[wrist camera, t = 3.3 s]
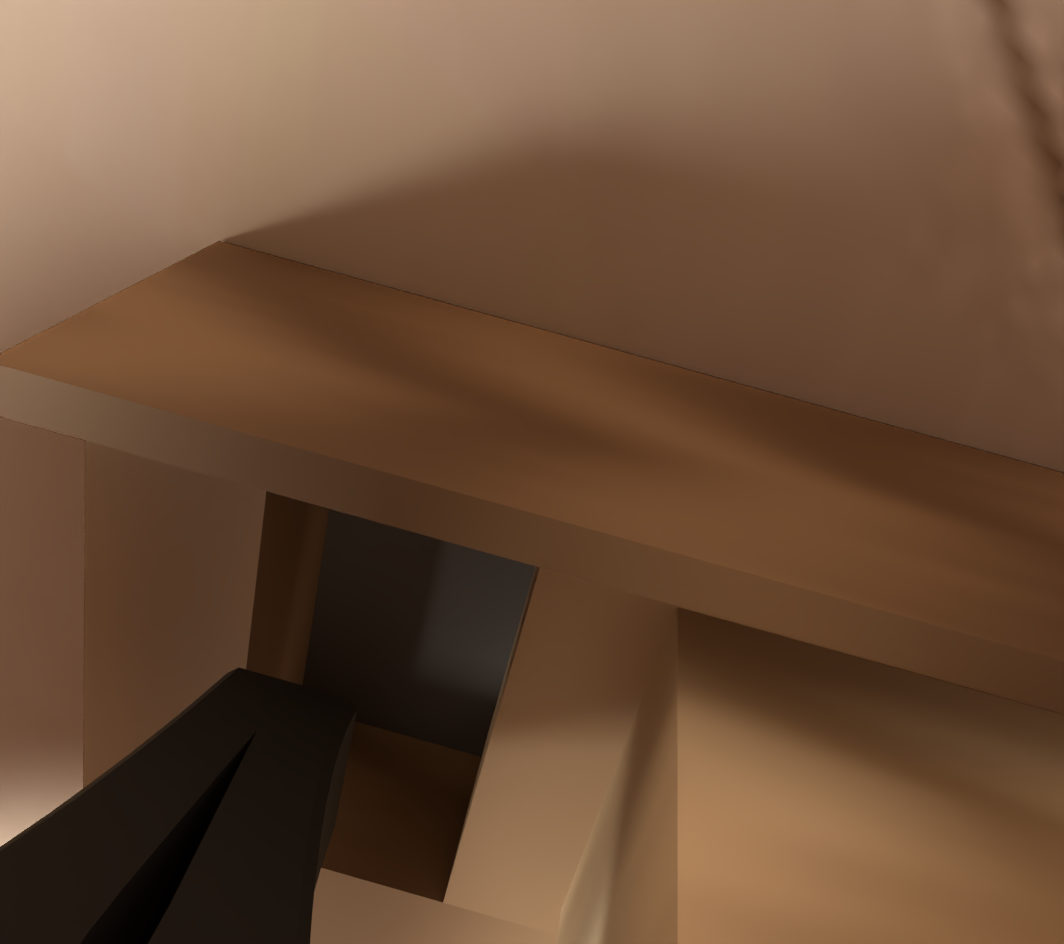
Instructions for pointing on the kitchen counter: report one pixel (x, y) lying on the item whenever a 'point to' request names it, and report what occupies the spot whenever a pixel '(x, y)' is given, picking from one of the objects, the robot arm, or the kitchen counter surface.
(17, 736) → the kitchen counter surface
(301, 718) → the robot arm
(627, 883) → the maple block
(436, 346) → the box
